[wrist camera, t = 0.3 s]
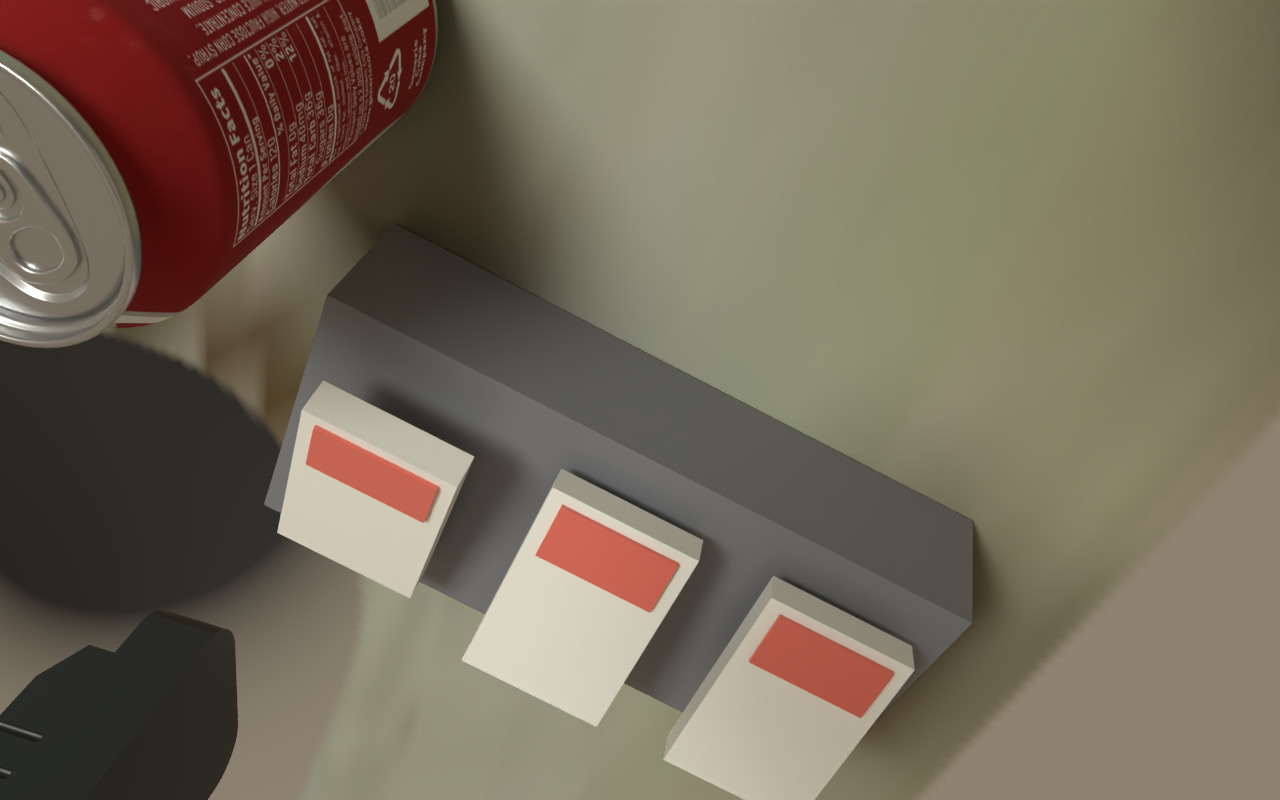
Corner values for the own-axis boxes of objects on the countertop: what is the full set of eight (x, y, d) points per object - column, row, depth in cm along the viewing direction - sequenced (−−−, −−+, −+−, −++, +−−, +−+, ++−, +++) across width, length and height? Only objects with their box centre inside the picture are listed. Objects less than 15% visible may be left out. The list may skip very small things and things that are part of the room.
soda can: (358, -209, 25) (-28, -88, 15) (497, 78, 28) (247, 329, 18) (139, -91, 28) (-304, 74, 18) (287, 159, 31) (-26, 413, 21)
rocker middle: (561, 468, 28) (551, 490, 27) (703, 540, 29) (698, 563, 28) (472, 638, 31) (460, 663, 30) (603, 702, 31) (595, 730, 30)
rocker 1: (322, 380, 27) (299, 413, 26) (474, 456, 27) (455, 491, 27) (296, 505, 32) (274, 536, 31) (425, 569, 32) (407, 602, 31)
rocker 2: (773, 575, 29) (771, 601, 28) (912, 645, 29) (915, 673, 28) (667, 734, 31) (662, 762, 30) (796, 798, 32) (795, 828, 31)
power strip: (394, 223, 31) (314, 309, 27) (972, 520, 32) (972, 643, 28) (327, 424, 36) (251, 520, 32) (832, 677, 37) (815, 799, 33)
